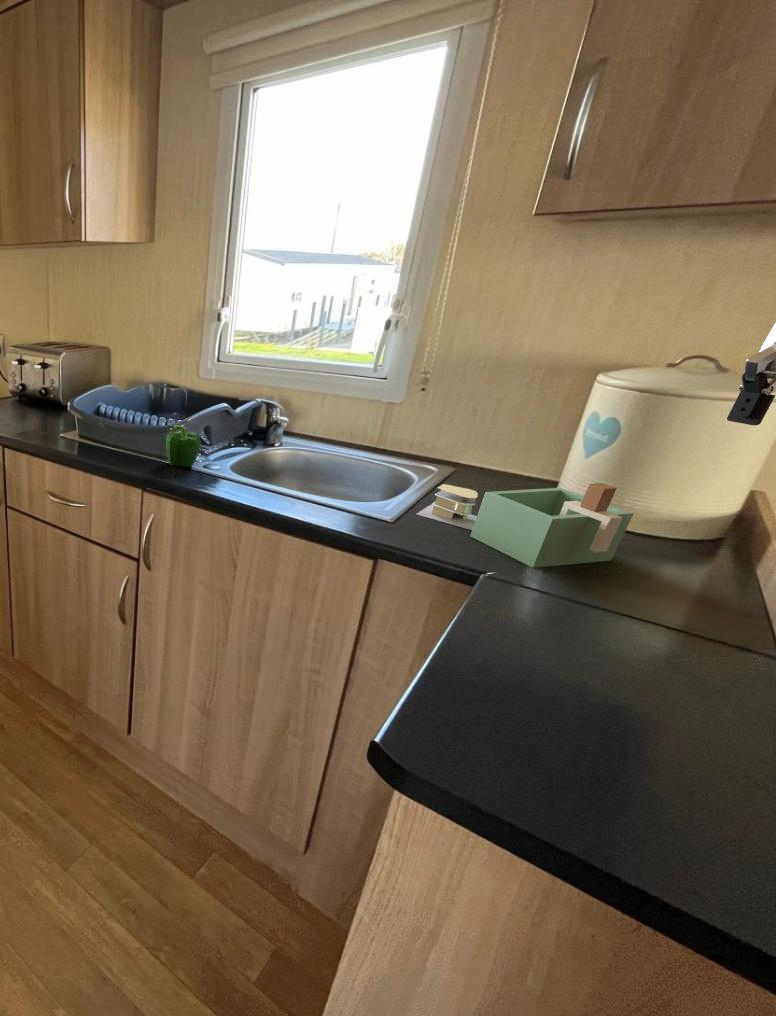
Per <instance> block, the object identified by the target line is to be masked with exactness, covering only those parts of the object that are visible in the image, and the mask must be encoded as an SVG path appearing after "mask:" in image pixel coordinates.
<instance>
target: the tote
mask: <svg viewBox="0 0 776 1016" xmlns="http://www.w3.org/2000/svg"><path fill="white" fill-rule="evenodd" d="M583 498H584V495H582V494H579V493H576V492H574V491H571V490H568V489H566V488H562V487H550V488H549V487H548V488H533V489H516V490H515V489H513V490H499V491H498V490H497V491H496V490H495V491H485V493H484V495H483V499H482V502H481V504H480V507H479V510H478V513H477V515H476V516H477V518H476V521H475V524H474V527H473V530H471V533H470V537H471V538H473V539H475V540H477V541H478V542H481V543H483V544H485V545H487V546H489V547H490V548H492V549H494V550H496V551H499V552H500V553H502V554H504V555H506V556H509V557H510V558H512V559H514V560H516V561H519V562H521V564H524V565H527V566H528V567H530V568H532V569H535V568H544V567H554V566H555V567H557V566H566V565H567V566H568V565H577V564H588V563H590V564H591V563H599V562H601V563H602V562H611V561H613V558H614V557H615V554H616V552H617V550H618V548H619V546H620V543H621V541H622V539H623V537H624V535H625V533H626V532H627V529H628V527H629V526H630V522H631V521H632V519H633V516H634V512H632V511H628V510H626V509H623V508H620V507H617V506H614V505H611V504H609V507H608V509H607V512H609V513H612V514H615V515H618V516H620V517H623V518H622V520H621V522H620V524H619V526H618V528H617V531H616V533H615V535H614V537H613V539H612V541H611V543H610V546H609V548H608V550H607V551H605V552H593V551H591V550H589V548H590V546H591V544H592V542H593V540H594V537H595V535H596V533H597V531H598V528H599V526H600V524H601V522H602V521H599V520H596V519H594V518H591V517H588V516H586V515H583V514H580V513H577V514H572V515H560V512H561V510H562V508H563V505H564V502H565V501H579V502H582V500H583Z"/></svg>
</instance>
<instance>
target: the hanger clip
mask: <svg viewBox="0 0 776 1016" xmlns="http://www.w3.org/2000/svg"><path fill="white" fill-rule="evenodd" d="M617 489H618V488H617V487H615V486H612V485H609V484H605V483H602V482H595V483H589V484H588V486H587V488H586V491H585V492H584V495H583V496H584V498H583V500H582V502H579V501H565V502H564V505H563V508H562V510H561V512H560V515H572V514H577V513H580V514H583V515H586V516H588V517H591V518H594V519H596V520H599V521H602V522H601V524H600V526H599V528H598V531H597V533H596V535H595V537H594V540H593V542H592V544H591V546H590V548H589V550H591V551H593V552H605V551H607V550H608V548H609V546H610V543H611V541H612V539H613V537H614V535H615V533H616V531H617V528H618V526H619V524H620V522H621V520H622V518H623V517H620V516H618V515H615V514H612V513H609V512H607V509H608V507H609V505H611V502H612V500H613V498H614V495H615V493H616V491H617Z"/></svg>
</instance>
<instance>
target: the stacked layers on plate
mask: <svg viewBox="0 0 776 1016" xmlns="http://www.w3.org/2000/svg"><path fill="white" fill-rule="evenodd" d="M437 489H439V491H438V492H435V493H434V495H435V496H436V498H435V500H434V501H433V502H432V503H431V504H429V505H427V506H426V507H424V508H423V509H422V510H420V511H418V512H417V513H416V516H420V517H424V518H428V519H430V520H435V521H438V522H440V523H441V522H442V523H444V524H449V525H452V526H455V527H459V528H463V529H467V530H470V531H472V530H473V527H474V524H475V521H476V518H477V515H474V514H473V506H476V499H477V498H478V496H479V495H478V492H477V491H476V490H474V489H472V488H471V489H470V488H466V487H461V486H455V485H450V484H446V483H443V484H441V485H439V486H437Z"/></svg>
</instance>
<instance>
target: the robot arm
mask: <svg viewBox="0 0 776 1016" xmlns="http://www.w3.org/2000/svg"><path fill="white" fill-rule="evenodd" d="M769 379H770V381H769ZM741 380H742V383H741V384H740V385H739V393H738V395H737V397H736V399H735V401H734V403H733V404H732V405H733V406H732V407H731V409H730V411H729V413H728V415H727V417H726V420H727V421H728V422H731V423H738V424H742V425H749V426H759V425H761V423H762V422H763V420H764V418H765V416H766V414H767V412H768V410H769V409H770V407H771V405H772V404H773V401H774V399H775V397H776V394H772V393H774V392H775V391H776V322H775V323H774V325H773V326H772V328H771V330H770V331H769V333H768V335H767V337H766V339H765V340H764V342H763V344H762V345H761V347H760V350H759V351H758V352H756V353H755V354H753V355H751V356H749V357H748V358H747V359H746V361H745V367H744V373H743V374H742V376H741Z"/></svg>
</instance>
